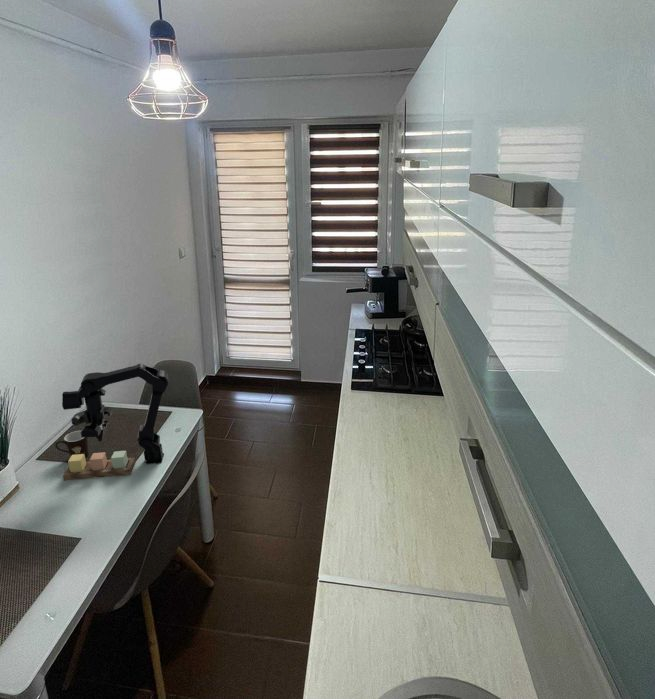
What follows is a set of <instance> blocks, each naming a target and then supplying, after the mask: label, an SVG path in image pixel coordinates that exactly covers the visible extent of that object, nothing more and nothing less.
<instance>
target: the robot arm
mask: <svg viewBox="0 0 655 699" xmlns="http://www.w3.org/2000/svg"><path fill="white" fill-rule="evenodd" d="M134 378H140V379H142V380H144V381H145V382H146V383H147V384H149V385H151V387H152V389H151V390H152V393H151V395H150V396H151V397H150V401H149V404H148V409H147V414H146V418H145V422H144V423H143V424H140V423H139V428H138V431H137V438H136V441H138V443H137V444H138V445H139V446H140V447H141V448H143V449H144V450H143V457H144V460H145V462H144V463H145V464H146V465H149V464H150V465H151V464H160V463H162V462H163V459H164V456H165V453H164V452H163V446H162V443H161V442H160V441H161V440H160V439H161V435H159V434H157V433H155V424H156V420H157V418H158V414H159V413H158V412H159V408H160V405H161V401H162V397H163V395H164V393H165V391H166V390H167V388H168V385H169V374H168V372H167V371H165V370H163V369H162V370H161V369H160V370H159V369H158V368H156V367H152V366H147V365H145V364H144V363H138V364H136V365H135V364H134V365H132V366H128V367H123V368H120V369H116V370H112V371H108V372H97V371H96V372H90V373H87V374H85V375H84V376H83V378H82V380H81V383H80V386H79V388H78V390H73V391H63V392H62V394H61V395H62V399H61V400H62V403H61V404H62V409H63V410H64V411H65V410H73V409H81V408H82V406H83V405H85V407H86V408H85V409H84V410H81V411H80V412H77V413H75V414H74V415H73V417H72V418H71V419H70V421H71V425H73V426H76V427H77V426H79V425H81V424H84V423H85V424H87V425H85V426H84V427H83V428H82V429H81V430H80V431H81V432H80V433H81V437H87V438H96V439H97V440H98V442H103V440H104V436H105V433H106V429H107V426H108V424H109V420H105V419H106V418H107V415H108V417H112V415H113V414H114V412H113V409H112V408H111V407H106V406H105V404H103V400H102V396H105V395H106V393H107V390H106V389H103V388H105V387H106V386H109V385H112V384H116V383H120V382H124V381H127V380H132V379H134ZM88 424H89V425H88Z"/></svg>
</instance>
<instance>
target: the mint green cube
mask: <svg viewBox="0 0 655 699" xmlns="http://www.w3.org/2000/svg"><path fill="white" fill-rule="evenodd" d="M128 458H129V457H128V454H127V450H118V451H113V454H112V455H111V457H110V459H111V460H112V465H113V469H120V468H126V467H127V463H128Z"/></svg>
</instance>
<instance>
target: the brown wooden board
mask: <svg viewBox="0 0 655 699" xmlns="http://www.w3.org/2000/svg"><path fill="white" fill-rule="evenodd" d="M127 458H128V463H127V465H126V467H125V468H117V469H113V465H112V460H111V458H110V459H107V465H106V467H105V469H104V470H93V471H92V468H91V464H90V460H88V461H86V464H87V465H86V467H85V468H84V470H83V471H81V472H70V468H69V465H68V466H67V468H66V469H65V471H64V472H63V474H62V478H63V481H64V482H65V481H74V480H75V481H76V480H88V479H98V478H99V479H100V478H107V477H108V478H110V477H121V476H131V475H132V473H133V470H134V468H135V465H136V463H137V462H136V458H135V457H127Z"/></svg>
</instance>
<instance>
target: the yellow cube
mask: <svg viewBox="0 0 655 699" xmlns="http://www.w3.org/2000/svg"><path fill="white" fill-rule="evenodd" d="M86 459H87V458H86ZM86 459H85V455H84V454H77V455H72V456H71V455H70V458H69V459H68V461H67V463H68V466H69V468H70V472H84V470H85V469H84V468H85V467H86V465H87V464H86Z"/></svg>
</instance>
